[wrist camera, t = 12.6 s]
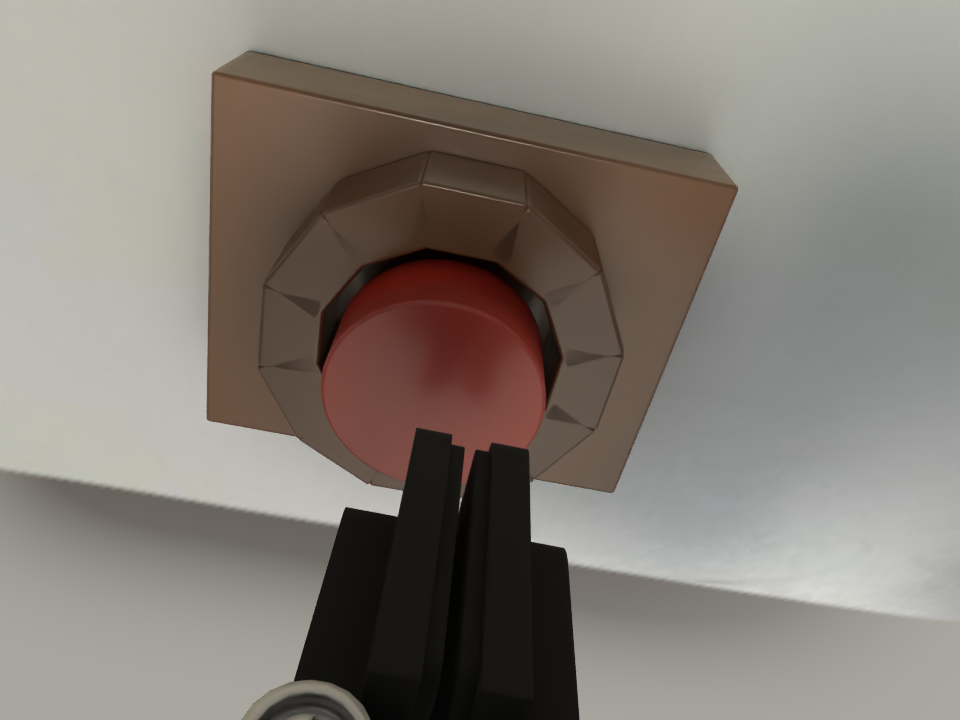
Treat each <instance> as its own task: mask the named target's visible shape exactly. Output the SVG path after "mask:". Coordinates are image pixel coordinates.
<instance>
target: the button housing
mask: <svg viewBox="0 0 960 720" xmlns="http://www.w3.org/2000/svg"><path fill="white" fill-rule="evenodd" d="M737 191H738V187H737V186H736V184H735V183H734V182H733V181H732V179H731V178H730V177H729V176H728V174H727V173H726V172H725V171H724V170H723V168H722V167H721V166H720V165H719V163H718V162H717V161H716V160H715V159H714V157H713V156H712V155H711V154H707V153H703V152H698V151H694V150H689V149H685V148H680V147H676V146H671V145H667V144H662V143H658V142H653V141H649V140H644V139H640V138H636V137H631V136H627V135H622V134H618V133H613V132H609V131H604V130H600V129H595V128H591V127H586V126H582V125H577V124H573V123H568V122H564V121H559V120H555V119H551V118H546V117H542V116H537V115H533V114H528V113H524V112H519V111H515V110H510V109H506V108H501V107H497V106H492V105H488V104H483V103H479V102H475V101H470V100H466V99H461V98H457V97H452V96H448V95H443V94H439V93H434V92H430V91H425V90H421V89H416V88H412V87H407V86H403V85H399V84H394V83H390V82H385V81H381V80H376V79H372V78H367V77H363V76H358V75H354V74H349V73H345V72H340V71H336V70H331V69H327V68H323V67H318V66H314V65H309V64H305V63H300V62H296V61H291V60H287V59H282V58H278V57H273V56H269V55H264V54H260V53H255V52H251V51H248V52H245V53H244V54H242V55H240V56H239V57H237V58H235V59H234V60H232V61H230V62H229V63H227V64H225V65H223V66H222V67H220V68H218V69H217V70H215V71H213V73H212V91H211V158H210V225H209V291H208V358H207V420H209V421H213V422H219V423H224V424H230V425H235V426H241V427H246V428H252V429H258V430H263V431H269V432H274V433H280V434H285V435H291V436H296V437H297V438H299V439H300V441H302V442H304V443H305V444H307V445H308V446H310V447H311V448H313V449H314V450H316V451H317V452H319V453H320V454H322V455H323V456H325V457H326V458H328V459H330V460H331V461H333V462H334V463H336V464H337V465H339V466H340V467H342V468H343V469H345V470H346V471H348V472H349V473H351V474H353V475H354V476H356V477H357V478H359V479H360V480H362V481H363V482H365V483H366V484H369V483H370V484H371V485H374V486H380V487H386V488H391V489H397V490H404V485H405V481H401V480H398V479H395V478H392V477H389V476H387V475H385V474H382V473H380V472H378V471H376V470H374V469H373V468H371V467H369V466H368V465H366V464H365V463H363V462H362V461H361V460H359V459H358V458H357V457H355V456H354V455H353V454H352V453H351V452H350V451H349V450H348V449H347V448H346V447H345V446H344V445H343V444H342V442H341V441H340V440H339V439H338V437H337V436H336V434H335V433H334V431H333V429H332V428H331V426H330V424H329V421H328V419H327V417H326V414H325V411H324V407H323V404H322V397H321V377H322V372H323V367H324V364H325V361H326V359H327V356H328V353H329V351H330V348H331V345H332V343H333V340H334V338H335V335H336V332H337V330H338V327H339V325H340V322H341V319H342V317H343V314H344V312H345V310H346V308H347V306H348V304H349V303H350V301H351V299H352V298H353V297H354V296H355V294H356V293H357V292H358V291H359V290H360V289H361V288H362V287H363V286H364V285H365V284H366V283H367V282H368V281H370V280H371V279H372V278H374V277H375V276H377V275H378V274H380V273H382V272H384V271H386V270H388V269H390V268H392V267H395V266H398V265H400V264H403V263H408V262H412V261H416V260H426V259H447V260H454V261H460V262H464V263H468V264H471V265H474V266H477V267H479V268H482V269H484V270H487V271H488V272H490V273H492V274H494V275H496V276H497V277H499V278H500V279H502V280H503V281H504V282H506V283H507V284H509V285H510V286H511V287H512V288H513V289H514V290H515V291H516V292H517V293H518V294H519V295H520V296H521V297H522V299H523V300H524V301H525V302H526V304H527V305H528V307H529V308H530V310H531V312H532V313H533V315H534V317H535V320H536V322H537V325H538V328H539V332H540V336H541V343H542V354H543V366H544V378H545V389H546V405H545V412H544V416H543V420H542V422H541V425H540V427H539V430H538V432H537V434H536V435H535V437H534V439H533V440H532V442H531V443H530V444H529V446H528V447H527V448H526V449H528V450H529V463H530V482H532V481H533V479H536V480H542V481H547V482H553V483H559V484H564V485H570V486H575V487H581V488H587V489H592V490H598V491H603V492H609V493H613V492H614V491H615V488H616V486H617V484H618V481H619V479H620V476H621V474H622V471H623V469H624V467H625V464H626V462H627V459H628V457H629V454H630V452H631V450H632V447H633V445H634V442H635V440H636V437H637V435H638V432H639V430H640V428H641V425H642V423H643V420H644V418H645V415H646V413H647V411H648V408H649V406H650V403H651V401H652V398H653V396H654V393H655V391H656V389H657V386H658V384H659V381H660V379H661V376H662V374H663V372H664V369H665V367H666V364H667V362H668V359H669V357H670V355H671V352H672V350H673V347H674V345H675V342H676V340H677V337H678V335H679V333H680V330H681V328H682V325H683V323H684V320H685V318H686V316H687V313H688V311H689V308H690V306H691V303H692V301H693V299H694V296H695V294H696V291H697V289H698V286H699V284H700V281H701V279H702V277H703V274H704V272H705V269H706V267H707V264H708V262H709V260H710V257H711V255H712V252H713V250H714V247H715V245H716V242H717V240H718V238H719V235H720V233H721V230H722V228H723V225H724V223H725V221H726V218H727V216H728V213H729V211H730V208H731V206H732V204H733V201H734V199H735V196H736V194H737ZM465 487H466V483H464V484H461V493H460V498H462V497H463V494H464V490H465Z"/></svg>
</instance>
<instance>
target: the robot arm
mask: <svg viewBox="0 0 960 720" xmlns="http://www.w3.org/2000/svg"><path fill="white" fill-rule="evenodd" d="M464 454H465V447H462V446H457V445H452V434H448V433H443V432H437V431H432V430H427V429H422V428H417V427H416V432H415V436H414V441H413V446H412V451H411V456H410V461H409V465H408V470H407V475H406V480H405V485H404V490H403V495H402V499H401V504H400V509H399V514H398V517H396V516H391V515H385V514H380V513H375V512H369V511H364V510H359V509H353V508H348V507H346V508H345V510H344V512H343V516H342V519H341V522H340V525H339V529H338V532H337V536H336V539H335V542H334V546H333V549H332V553H331V556H330V560H329V563H328V566H327V570H326V573H325V577H324V580H323V584H322V587H321V590H320V594H319V597H318V600H317V604H316V607H315V611H314V615H313V618H312V621H311V624H310V628H309V631H308V635H307V638H306V641H305V645H304V648H303V652H302V655H301V659H300V662H299V665H298V669H297V672H296V676H295V679H294V682H290V683H287V684H284V685H282V686H280V687H277V688H275V689H272V690H270V691H269V692H267V693H266V694H265V695H264V696H262V697H261V698H260V699H258V700H257V701H256V702H255V703H253V705H252V706H251V707H250V709H249V710H248V711H247V713H246V714H245V716H244V717H243V718H242V720H579V708H578V694H577V680H576V666H575V654H574V639H573V625H572V612H571V598H570V585H569V571H568V559H567V553H566V551H565V549H564V548H561V547H556V546H550V545H545V544H540V543H534V542H531V523H530V463H529V450H528V449H524V448H519V447H514V446H509V445H504V444H498V443H493V442H492V443H491V445H490V448H489V451H483V450H478V449H476V450H475V453H474V456H473V460H472V464H471V468H470V471H469V475H468V479H467V483H466V487H465V490H464V494H463V498H462V502H461V505H460V509H459V502H460V493H461V483H462V473H463V463H464ZM458 512H459V513H458Z"/></svg>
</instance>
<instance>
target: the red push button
mask: <svg viewBox="0 0 960 720" xmlns="http://www.w3.org/2000/svg"><path fill="white" fill-rule="evenodd" d="M321 397H322V404H323V407H324V411H325V414H326V417H327V419H328V421H329V424H330V426H331V428H332V429H333V431H334V433H335V434H336V436H337V437H338V439H339V440H340V441H341V442H342V444H343V445H344V446H345V447H346V448H347V449H348V450H349V451H350V452H351V453H352V454H353V455H354V456H355V457H357V458H358V459H359V460H361V461H362V462H363V463H365V464H366V465H368V466H369V467H371V468H373V469H374V470H376V471H378V472H380V473H382V474H385V475H387V476H389V477H392V478H395V479H398V480H401V481H405V480H406V475H407V470H408V465H409V461H410V456H411V451H412V446H413V441H414V436H415V432H416V427H417V428H422V429H427V430H432V431H437V432H443V433H448V434H452V445H457V446H462V447H465V454H464V463H463V473H462V483H461V484H464V483H467V479H468V475H469V471H470V468H471V464H472V460H473V456H474V453H475V450H476V449H478V450H483V451H489V448H490V445H491V443H492V442H493V443H498V444H504V445H509V446H514V447H519V448H524V449H526V448H527V447H528V446H529V444H530V443H531V442H532V440H533V439H534V437H535V435H536V434H537V432H538V430H539V427H540V425H541V422H542V420H543V416H544V412H545V405H546V389H545V378H544V366H543V354H542V343H541V336H540V332H539V328H538V325H537V322H536V320H535V317H534V315H533V313H532V312H531V310H530V308H529V307H528V305H527V304H526V302H525V301H524V300H523V299H522V297H521V296H520V295H519V294H518V293H517V292H516V291H515V290H514V289H513V288H512V287H511V286H510V285H509V284H507V283H506V282H504V281H503V280H502V279H500V278H499V277H497V276H496V275H494V274H492V273H490V272H488V271H487V270H484V269H482V268H479V267H477V266H474V265H471V264H468V263H464V262H460V261H454V260H447V259H426V260H416V261H412V262H408V263H403V264H400V265H398V266H395V267H392V268H390V269H388V270H386V271H384V272H382V273H380V274H378V275H377V276H375V277H374V278H372V279H371V280H370V281H368V282H367V283H366V284H365V285H364V286H363V287H362V288H361V289H360V290H359V291H358V292H357V293H356V294H355V296H354V297H353V298H352V299H351V301H350V303H349V304H348V306H347V308H346V310H345V312H344V314H343V317H342V319H341V322H340V325H339V327H338V330H337V332H336V335H335V338H334V340H333V343H332V345H331V348H330V351H329V353H328V356H327V359H326V361H325V364H324V367H323V372H322V377H321Z"/></svg>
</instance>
